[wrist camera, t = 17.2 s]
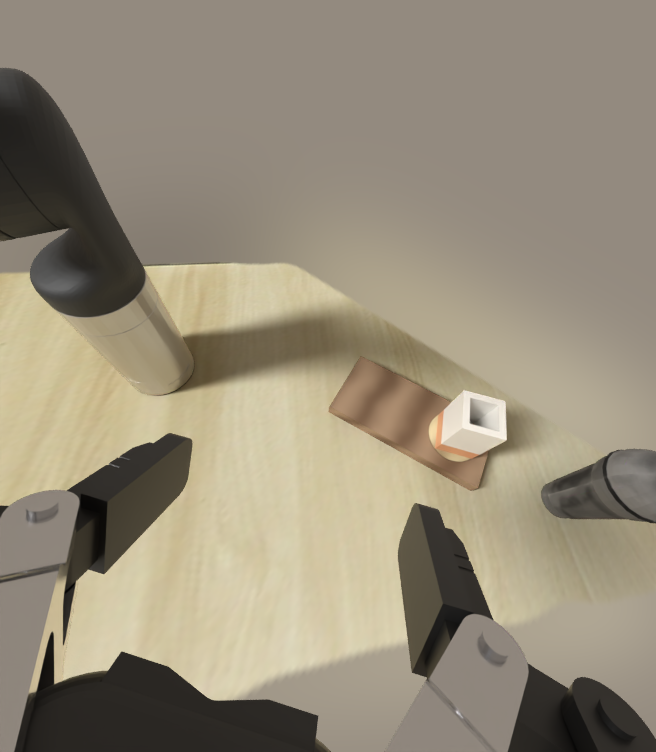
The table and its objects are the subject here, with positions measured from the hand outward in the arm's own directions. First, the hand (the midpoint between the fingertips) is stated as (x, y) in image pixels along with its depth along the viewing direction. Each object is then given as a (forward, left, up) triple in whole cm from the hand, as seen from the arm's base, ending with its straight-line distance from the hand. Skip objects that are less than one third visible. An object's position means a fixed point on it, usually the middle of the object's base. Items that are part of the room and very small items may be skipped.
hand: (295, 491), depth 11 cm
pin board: (+6, +21, -31) cm, 37 cm away
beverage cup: (+28, +21, -31) cm, 47 cm away
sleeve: (+12, +21, -28) cm, 37 cm away
